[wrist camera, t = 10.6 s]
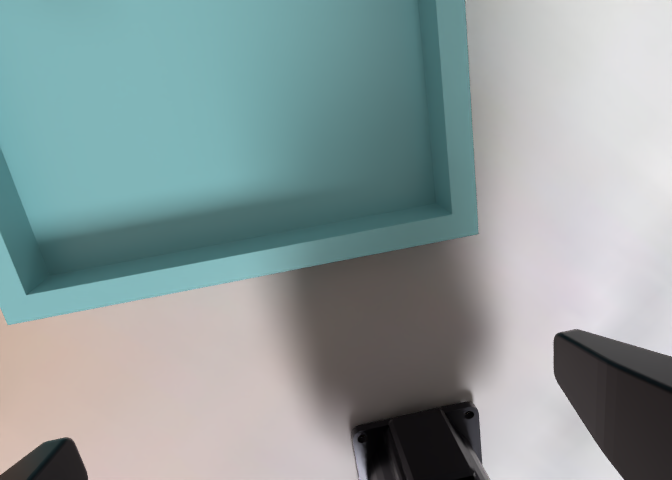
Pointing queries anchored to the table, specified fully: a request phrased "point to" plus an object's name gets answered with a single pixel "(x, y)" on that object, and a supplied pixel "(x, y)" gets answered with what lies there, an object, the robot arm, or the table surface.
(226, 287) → the table surface
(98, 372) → the table surface
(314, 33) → the teal tray
